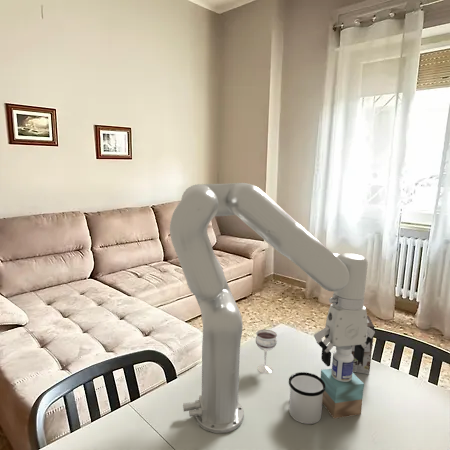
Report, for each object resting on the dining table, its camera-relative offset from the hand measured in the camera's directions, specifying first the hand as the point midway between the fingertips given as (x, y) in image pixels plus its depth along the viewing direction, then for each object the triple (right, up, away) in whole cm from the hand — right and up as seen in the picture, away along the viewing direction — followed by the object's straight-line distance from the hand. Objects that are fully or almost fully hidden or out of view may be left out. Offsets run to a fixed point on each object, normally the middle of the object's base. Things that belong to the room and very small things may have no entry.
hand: (342, 361), depth 93 cm
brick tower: (0, -13, +2) cm, 13 cm away
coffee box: (+13, -10, +23) cm, 28 cm away
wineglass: (-19, -10, +19) cm, 28 cm away
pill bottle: (0, -4, +1) cm, 5 cm away
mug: (-11, -13, 0) cm, 17 cm away
